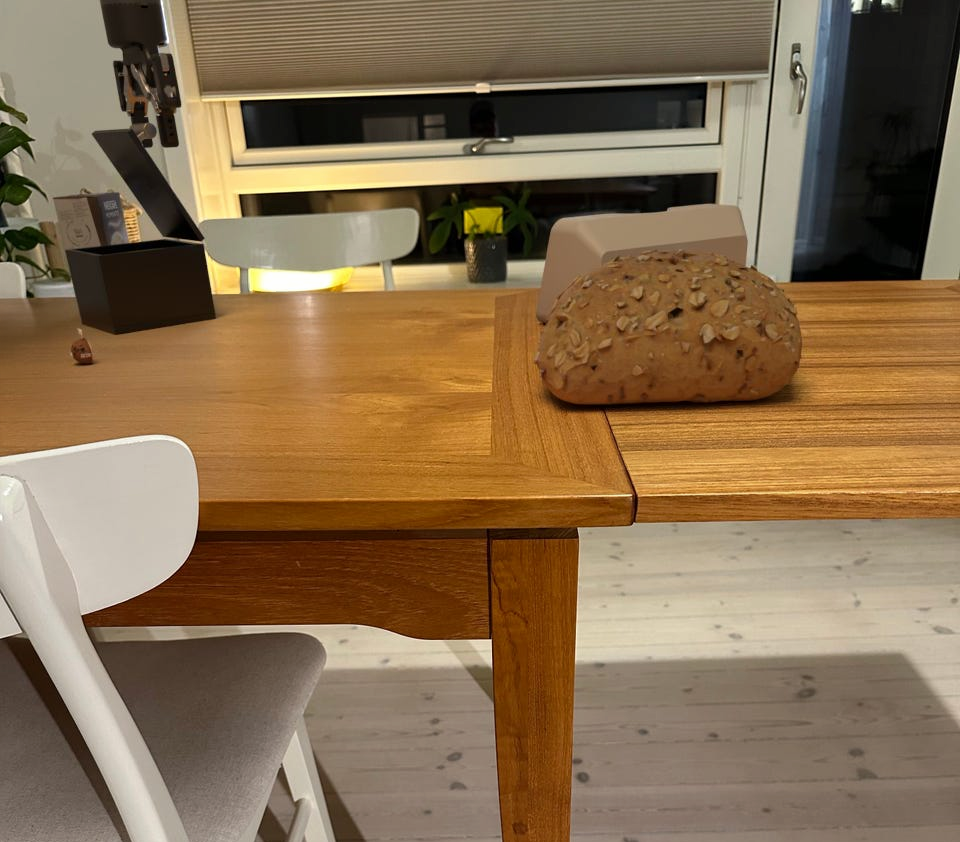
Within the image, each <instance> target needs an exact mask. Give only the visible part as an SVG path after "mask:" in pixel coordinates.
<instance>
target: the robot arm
mask: <svg viewBox="0 0 960 842" xmlns="http://www.w3.org/2000/svg"><path fill="white" fill-rule="evenodd" d="M99 4H100V10H101V14H102V19H103V23H104V24H103V25H104V30H105V34H106V40H107V44H108V45H109V47H111V48H112V49H120V50H121V52H122V60H113V61H112V67H113V72H114V78H115V83H116V84H115V85H116V89H117V94H118V101H119V107H120V110H121V112H122V113H124V112H125V113H126V115H127V117H129V118H130V122H131V125H132V124H140V123H150V120H149V116H148V114H149V113H148V111H149V103H151V105H152V108H153V109H154V112H155V114H156V115H155V119H156V124H157V131H158V135H159V141H160V144H161V147H162V148H165V149H169V148H171V149H172V148H179V146H180V140H179V134H178V129H177V124H176V117H175V115H176V114H177V109H178V108H179V109H181V108H182V99H181V93H180V87H179V82H178V77H177V72H176V71H177V70H176V66H175V61H174V57H173V54H172V53H166V52H160V48H165V47H167V46H168V45H169V42H170V40H169V34H168V29H167V23H166V18H165V17H166V16H165V9H164V4H163V0H99ZM141 143H142V144H143V146H144V147H145V149H150V148H153V146H154V142H153V138H151V139H144V140H142V141H141Z"/></svg>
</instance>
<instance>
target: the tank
mask: <svg viewBox="0 0 960 842" xmlns="http://www.w3.org/2000/svg"><path fill="white" fill-rule="evenodd" d="M748 240H749V239H748V235H747V231H746V227H745V223H744V219H743V214H742V211H741V209H740V208H739V206H738V205H735V204H734V205H733V204H719V203H702V204H690V205H682V206H671V207H668V208H667V210H665V211H658V212H657V211H656V212H643V213H601V214H591V215H580V216H571V217H570V216H569V217H562V218H560V219H558V220H557V221H556V222H554V224H553V226H552V227H551V230H550V234H549V239H548V244H547V250H546V255H545V260H544V266H543V272H542V278H541V281H540V288H539V293H538V299H537V305H536V310H535V318H536V320H537V321H538V322H540V323H542V324H546V321H547V318H548V316H549V314H550V312H551V309H552V306H553V303H554V302H555V300H558V299H557V296H558V295H559V294H560V293H561V292H562V291H563V290H564V289H566V288H567V287H568V286H569V285H570V284H571V283H572V281H573V280H574V279H575V278H576V277H577V276H578V275H581V276H584V275H585V274H586V273H587V272H589V271H591V270H593V269H594V268H596V267H598V266H600V265H603V264H605V263H609V262H610V261H612V260H613V259H615V258H616V257H618V256H619V255H620V256H619V259H620V257H627V256H629V255H632V256H631V257H634V256H638V255H640V254H641V253H642V252H645V251H650V250H658V251H660V250H673V249H682V250H685V249H690V250H697V251H701V252H705V253H708V254H712V253H713V252H714V253H716V254H718V255H722V256H725V257H727V259H728V260H734V262H736V263H740V264H742V265H743V266H746V267H747V257H748V256H747V255H748V247H749V246H748V244H749V241H748Z"/></svg>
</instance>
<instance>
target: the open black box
mask: <svg viewBox="0 0 960 842" xmlns="http://www.w3.org/2000/svg"><path fill="white" fill-rule="evenodd" d="M64 252H66V253H65V257H66V256H67V257H66V262H67V261H68V262H67V265H69V266H68V270H69V269H70V270H69V274H71V275H70V279H71V278H72V279H71V283H72V282H73V283H72V287H73V286H74V288H73V291H75V292H74V296H75V295H76V297H75V300H76V299H77V301H76V304H78V305H77V309H78V308H79V310H78V313H79V312H80V314H79V317H80V321H81V324H82V325H84V326H88V327H91V328H94V329H98V330H100V331H103V332H106V333H109V334H112V335H122V334H129V333H135V332H140V331H146V330H147V331H148V330H154V329H158V328H165V327H171V326H177V325H178V326H179V325H183V324H189V323H196V322H202V321H209V320H214V319H217V315H216V310H215V304H214V297H213V292H212V286H211V280H210V279H211V278H210V273H209V267H208V262H207V261H208V260H207V255H206V250H205V244H204V243H201V242H194V241H193V242H192V241H186V240H179V239H177V240H176V239H171V238H161V239H153V240H141V241H134V242H129V243H123V244H114V245H105V246H95V247H86V248H77V249H68V250H65V249H64Z"/></svg>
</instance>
